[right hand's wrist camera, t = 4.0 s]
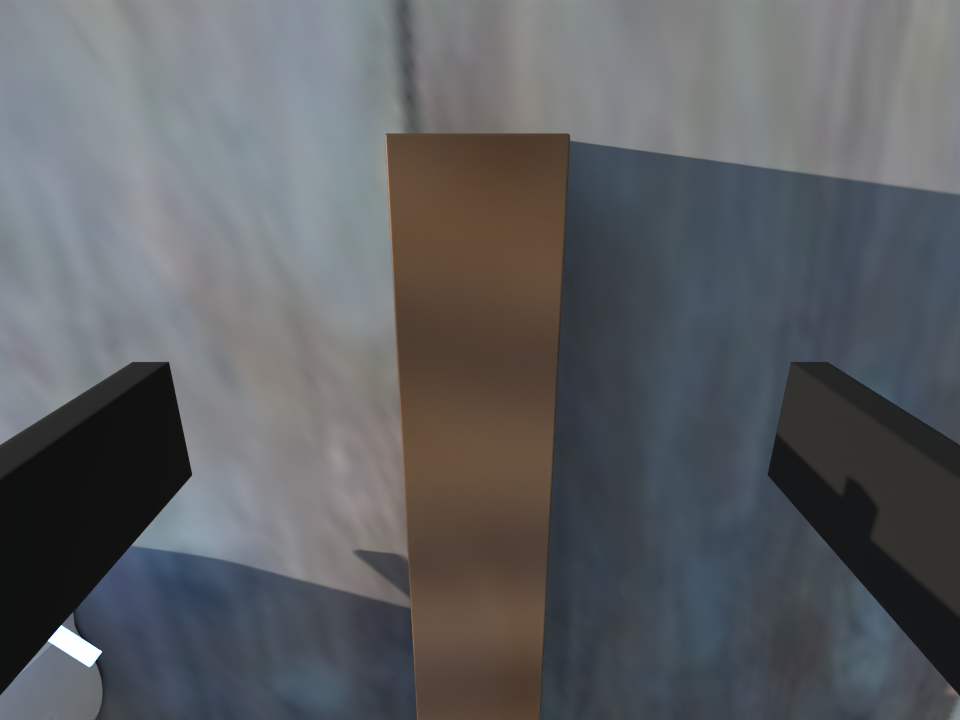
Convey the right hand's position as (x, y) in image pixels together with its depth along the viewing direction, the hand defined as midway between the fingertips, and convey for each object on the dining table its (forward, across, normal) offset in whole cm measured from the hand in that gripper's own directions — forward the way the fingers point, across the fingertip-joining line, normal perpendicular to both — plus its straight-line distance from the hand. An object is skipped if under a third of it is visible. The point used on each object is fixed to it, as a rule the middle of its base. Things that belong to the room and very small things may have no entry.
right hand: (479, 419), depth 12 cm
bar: (+15, 0, -26) cm, 30 cm away
